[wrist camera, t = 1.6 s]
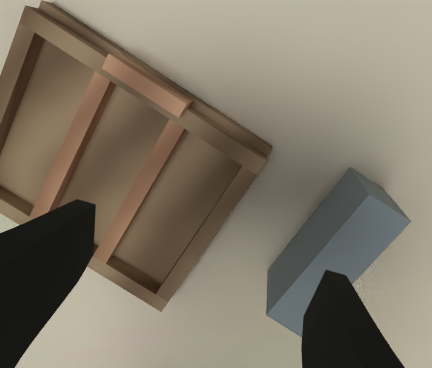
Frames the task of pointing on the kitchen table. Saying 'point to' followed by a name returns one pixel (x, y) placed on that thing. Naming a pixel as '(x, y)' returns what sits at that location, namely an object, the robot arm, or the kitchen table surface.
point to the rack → (117, 152)
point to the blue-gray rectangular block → (332, 245)
